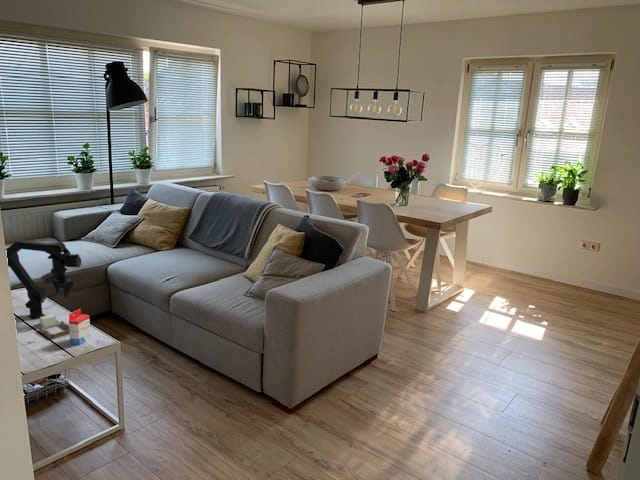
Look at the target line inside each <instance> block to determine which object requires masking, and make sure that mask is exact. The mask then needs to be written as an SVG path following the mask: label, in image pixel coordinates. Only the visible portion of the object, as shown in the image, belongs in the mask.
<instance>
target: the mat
mask: <svg viewBox="0 0 640 480" xmlns="http://www.w3.org/2000/svg"><path fill="white" fill-rule="evenodd" d="M34 326H35V327H36V328H37V329H39V330H40V328H39V327H43V326H42V325H40V322H39V323H35V324H34ZM58 326H59V327H60V326H61V321H59V320H57V319H56V324H53V325H49V326H46V327H43V328H44V329H46V330H47V329H48V330H49V329H51V328H54V327H58Z"/></svg>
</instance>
